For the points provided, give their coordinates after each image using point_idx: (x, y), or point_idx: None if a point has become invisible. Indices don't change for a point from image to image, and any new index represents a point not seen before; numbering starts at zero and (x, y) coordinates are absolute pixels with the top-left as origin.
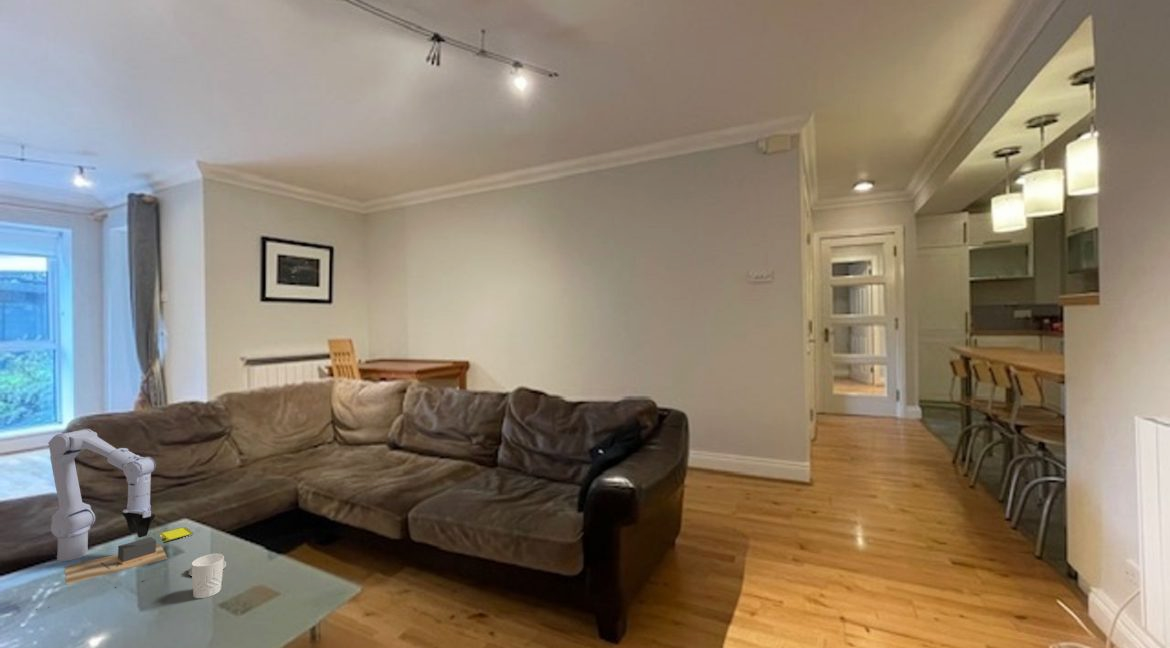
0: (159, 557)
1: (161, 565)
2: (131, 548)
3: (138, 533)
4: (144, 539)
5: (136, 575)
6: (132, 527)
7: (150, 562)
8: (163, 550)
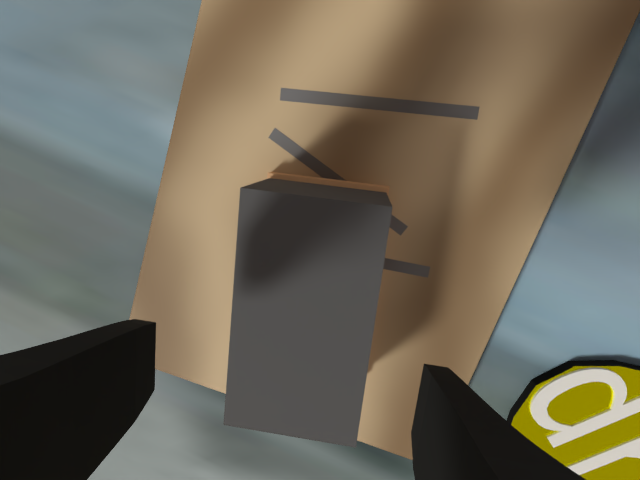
0: (182, 342)
1: (112, 303)
2: (238, 246)
3: (85, 333)
4: (340, 395)
5: (82, 162)
6: (428, 419)
7: (145, 277)
8: None
